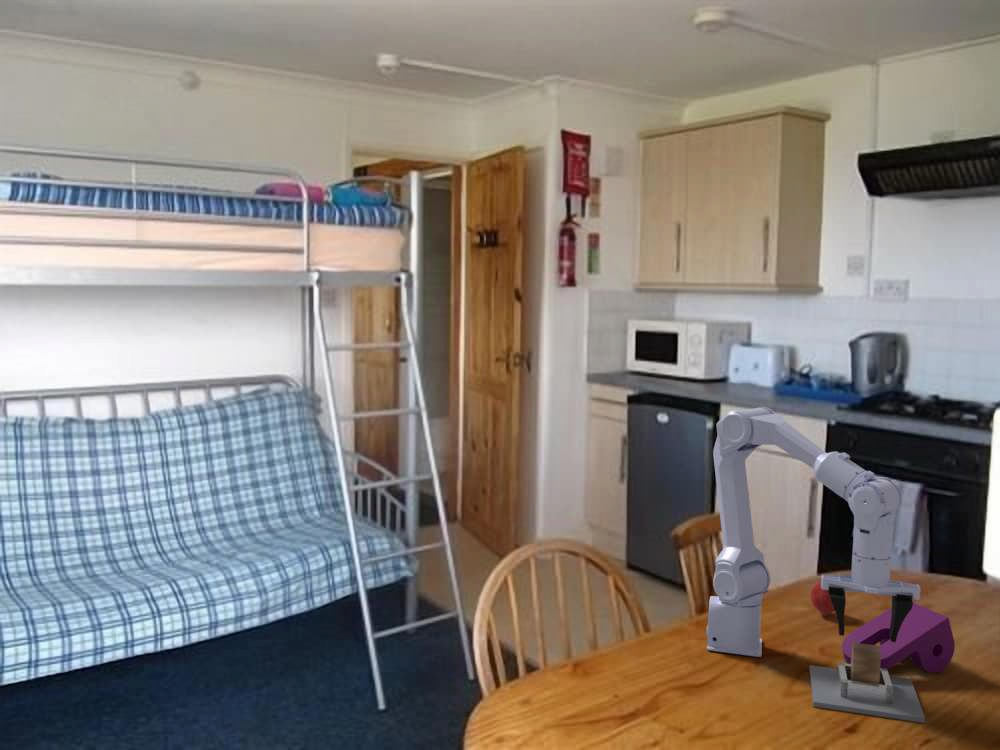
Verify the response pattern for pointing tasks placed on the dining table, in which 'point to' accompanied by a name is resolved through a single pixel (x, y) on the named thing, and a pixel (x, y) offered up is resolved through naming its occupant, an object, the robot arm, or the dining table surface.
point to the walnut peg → (865, 663)
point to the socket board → (865, 694)
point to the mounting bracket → (908, 639)
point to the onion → (821, 600)
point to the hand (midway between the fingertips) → (866, 636)
